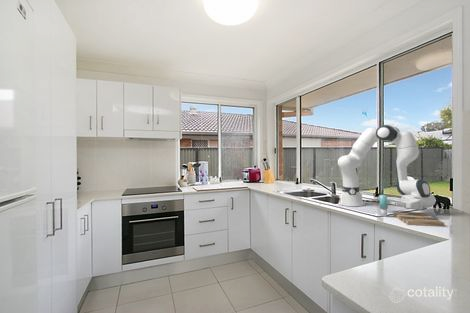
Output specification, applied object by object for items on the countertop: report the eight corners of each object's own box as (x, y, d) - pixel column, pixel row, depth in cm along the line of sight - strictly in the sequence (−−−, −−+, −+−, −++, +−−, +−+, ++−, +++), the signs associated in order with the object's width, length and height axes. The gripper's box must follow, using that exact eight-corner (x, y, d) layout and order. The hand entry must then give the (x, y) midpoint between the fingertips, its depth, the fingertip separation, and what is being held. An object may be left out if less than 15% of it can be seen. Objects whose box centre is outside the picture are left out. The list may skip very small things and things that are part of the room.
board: (393, 215, 138) (393, 211, 138) (424, 216, 133) (424, 213, 133) (407, 224, 119) (407, 220, 119) (444, 226, 114) (444, 222, 114)
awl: (379, 215, 140) (378, 194, 140) (386, 215, 138) (385, 194, 139) (381, 217, 136) (380, 195, 136) (388, 217, 135) (388, 195, 135)
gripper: (394, 194, 150) (376, 195, 148) (424, 199, 130) (403, 200, 128) (395, 203, 150) (376, 204, 148) (424, 210, 130) (403, 211, 128)
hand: (389, 203), depth 138 cm, fingers open, 8 cm apart
